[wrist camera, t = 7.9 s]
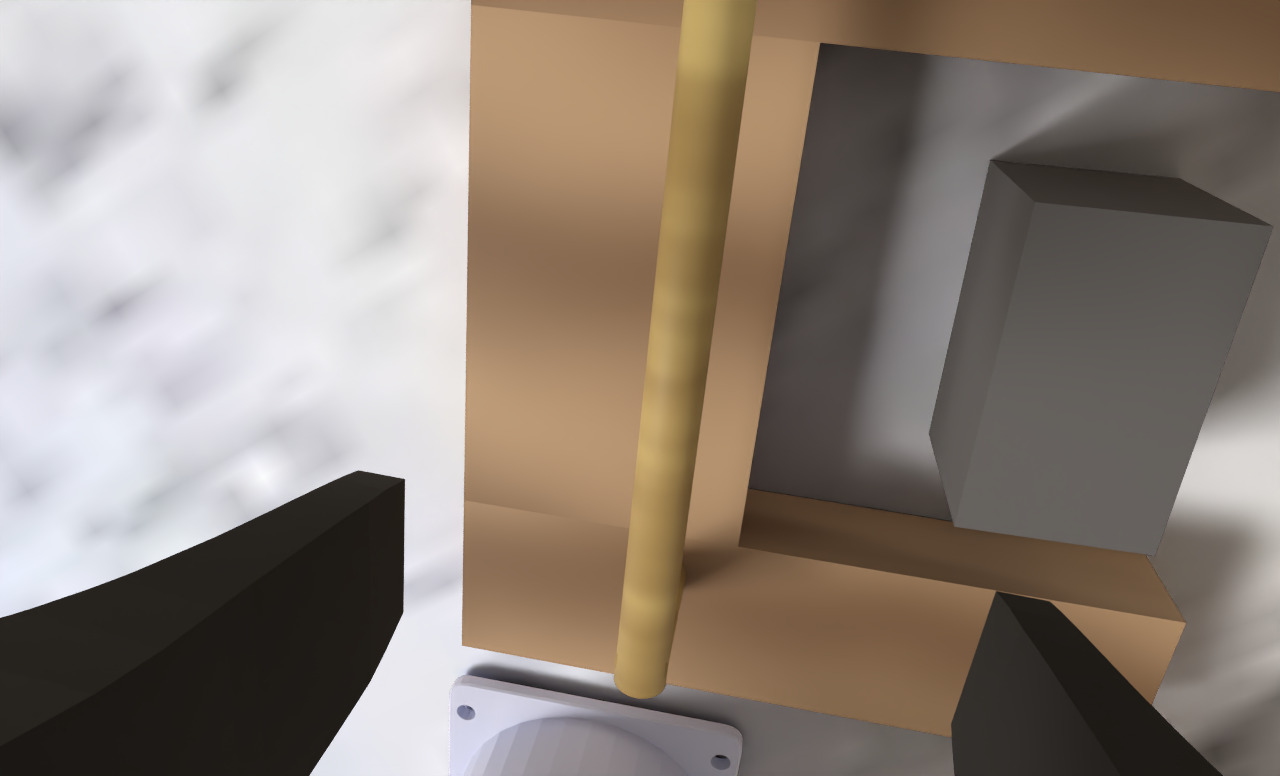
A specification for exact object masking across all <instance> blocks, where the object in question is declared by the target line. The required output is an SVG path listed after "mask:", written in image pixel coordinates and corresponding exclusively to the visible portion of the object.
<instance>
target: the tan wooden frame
mask: <svg viewBox="0 0 1280 776" xmlns="http://www.w3.org/2000/svg"><path fill="white" fill-rule="evenodd" d="M820 43H829V44H838V45H847V46H856V47H866V48H875V49H884V50H893V51H903V52H912V53H921V54H931V55H940V56H949V57H958V58H968V59H977V60H986V61H995V62H1005V63H1014V64H1023V65H1033V66H1042V67H1051V68H1060V69H1070V70H1079V71H1088V72H1097V73H1107V74H1116V75H1125V76H1135V77H1144V78H1153V79H1162V80H1172V81H1181V82H1190V83H1199V84H1209V85H1218V86H1227V87H1237V88H1246V89H1255V90H1264V91H1274V92H1280V0H471V59H470V127H469V196H468V265H467V334H466V403H465V472H464V541H463V610H462V646H468V647H473V648H478V649H484V650H489V651H494V652H500V653H505V654H510V655H516V656H521V657H526V658H532V659H537V660H542V661H547V662H553V663H558V664H563V665H569V666H574V667H579V668H585V669H590V670H595V671H601V672H606V673H611V674H614V682H615V685H616V686H617V688H618V689H619V690H620V691H621V692H622V693H624V694H626V695H628V696H630V697H633V698H639V699H646V698H652V697H655V696H657V695H658V694H660V693H661V692H662V691H663V690H664V688H665V686H666V684H670V685H675V686H681V687H686V688H691V689H696V690H702V691H707V692H712V693H718V694H723V695H728V696H734V697H739V698H744V699H750V700H755V701H760V702H766V703H771V704H776V705H782V706H787V707H792V708H798V709H803V710H808V711H814V712H819V713H824V714H830V715H835V716H840V717H845V718H851V719H856V720H861V721H867V722H872V723H877V724H883V725H888V726H893V727H899V728H904V729H909V730H915V731H920V732H925V733H931V734H936V735H941V736H947V737H952V733H951V722H952V719H953V716H954V714H955V711H956V708H957V705H958V702H959V699H960V696H961V693H962V690H963V687H964V684H965V681H966V678H967V675H968V672H969V669H970V666H971V663H972V660H973V657H974V654H975V651H976V649H977V646H978V643H979V640H980V637H981V634H982V631H983V628H984V625H985V622H986V619H987V616H988V613H989V610H990V607H991V604H992V601H993V598H994V595H995V592H996V591H999V592H1004V593H1009V594H1015V595H1020V596H1025V597H1030V598H1036V599H1041V600H1046V601H1050V602H1051V603H1052V604H1054V605H1055V606H1056V607H1057V608H1058V609H1059V610H1060V611H1061V612H1062V613H1063V614H1064V615H1065V616H1066V617H1067V618H1068V619H1069V620H1070V621H1071V622H1072V623H1073V624H1074V625H1075V626H1076V627H1077V628H1078V629H1079V630H1080V631H1081V632H1082V633H1083V634H1084V635H1085V636H1086V637H1087V638H1088V639H1089V641H1090V642H1091V643H1092V644H1093V645H1094V646H1095V647H1096V648H1097V649H1098V650H1099V651H1100V652H1101V653H1102V654H1103V655H1104V656H1105V657H1106V658H1107V659H1108V660H1109V662H1110V663H1111V664H1112V665H1113V666H1114V667H1115V668H1116V669H1117V670H1118V671H1119V672H1120V673H1121V674H1122V675H1123V676H1124V677H1125V678H1126V679H1127V680H1128V682H1129V683H1130V684H1131V685H1132V686H1133V687H1134V688H1135V689H1136V690H1137V691H1138V692H1139V693H1140V694H1141V695H1142V696H1143V697H1144V698H1145V699H1146V700H1147V701H1148V702H1149V703H1150V704H1151V705H1152V703H1153V701H1154V698H1155V696H1156V693H1157V691H1158V689H1159V686H1160V684H1161V682H1162V679H1163V677H1164V674H1165V672H1166V670H1167V667H1168V665H1169V663H1170V660H1171V658H1172V656H1173V653H1174V651H1175V648H1176V646H1177V644H1178V641H1179V639H1180V637H1181V634H1182V632H1183V629H1184V627H1185V625H1186V622H1185V620H1184V618H1183V617H1182V615H1181V613H1180V612H1179V610H1178V608H1177V607H1176V605H1175V603H1174V602H1173V600H1172V598H1171V597H1170V595H1169V593H1168V592H1167V590H1166V588H1165V587H1164V585H1163V583H1162V582H1161V580H1160V578H1159V577H1158V575H1157V573H1156V572H1155V570H1154V568H1153V567H1152V565H1151V563H1150V561H1149V560H1148V558H1147V556H1146V555H1145V554H1139V553H1132V552H1125V551H1118V550H1111V549H1104V548H1097V547H1090V546H1084V545H1077V544H1070V543H1063V542H1056V541H1049V540H1042V539H1035V538H1029V537H1022V536H1015V535H1008V534H1001V533H994V532H987V531H980V530H973V529H967V528H960V527H954V524H953V522H951V521H945V520H939V519H932V518H926V517H920V516H914V515H908V514H902V513H895V512H889V511H883V510H877V509H871V508H865V507H859V506H852V505H846V504H840V503H834V502H828V501H822V500H815V499H809V498H803V497H797V496H791V495H785V494H779V493H772V492H766V491H760V490H754V489H748V483H749V477H750V471H751V465H752V459H753V452H754V446H755V440H756V434H757V428H758V422H759V416H760V410H761V403H762V397H763V391H764V385H765V379H766V373H767V367H768V360H769V354H770V348H771V342H772V336H773V330H774V324H775V317H776V311H777V305H778V299H779V293H780V287H781V281H782V274H783V268H784V262H785V256H786V250H787V244H788V238H789V231H790V225H791V219H792V213H793V207H794V201H795V195H796V188H797V182H798V176H799V170H800V164H801V158H802V152H803V145H804V139H805V133H806V127H807V121H808V115H809V109H810V102H811V96H812V90H813V84H814V78H815V72H816V66H817V59H818V53H819V47H820Z"/></svg>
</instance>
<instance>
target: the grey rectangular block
mask: <svg viewBox="0 0 1280 776" xmlns="http://www.w3.org/2000/svg"><path fill="white" fill-rule="evenodd" d="M1272 229H1273V226H1271V225H1270V224H1268V223H1266V222H1264V221H1262V220H1260V219H1258V218H1256V217H1254V216H1252V215H1250V214H1248V213H1246V212H1244V211H1242V210H1240V209H1238V208H1236V207H1234V206H1232V205H1230V204H1228V203H1227V202H1225V201H1223V200H1221V199H1219V198H1217V197H1215V196H1213V195H1211V194H1209V193H1207V192H1205V191H1203V190H1201V189H1199V188H1197V187H1195V186H1193V185H1191V184H1189V183H1187V182H1185V181H1184V180H1182V179H1179V178H1169V177H1158V176H1148V175H1138V174H1128V173H1117V172H1107V171H1097V170H1087V169H1076V168H1066V167H1056V166H1045V165H1035V164H1025V163H1015V162H1004V161H994V160H990V164H989V168H988V173H987V177H986V182H985V186H984V190H983V195H982V199H981V204H980V208H979V213H978V217H977V222H976V226H975V231H974V235H973V239H972V244H971V248H970V253H969V257H968V262H967V266H966V271H965V275H964V280H963V284H962V288H961V293H960V297H959V302H958V306H957V311H956V315H955V320H954V324H953V329H952V333H951V338H950V342H949V346H948V351H947V355H946V360H945V364H944V369H943V373H942V378H941V382H940V387H939V391H938V395H937V400H936V404H935V409H934V413H933V418H932V422H931V427H930V431H929V436H930V440H931V443H932V447H933V451H934V454H935V458H936V462H937V465H938V469H939V472H940V476H941V480H942V483H943V487H944V491H945V494H946V498H947V502H948V505H949V509H950V513H951V516H952V520H953V524H954V527H960V528H967V529H973V530H980V531H987V532H994V533H1001V534H1008V535H1015V536H1022V537H1029V538H1035V539H1042V540H1049V541H1056V542H1063V543H1070V544H1077V545H1084V546H1090V547H1097V548H1104V549H1111V550H1118V551H1125V552H1132V553H1139V554H1145V555H1152V556H1155V555H1156V552H1157V549H1158V546H1159V544H1160V541H1161V538H1162V535H1163V533H1164V530H1165V527H1166V524H1167V521H1168V519H1169V516H1170V513H1171V510H1172V507H1173V505H1174V502H1175V499H1176V496H1177V494H1178V491H1179V488H1180V485H1181V482H1182V480H1183V477H1184V474H1185V471H1186V469H1187V466H1188V463H1189V460H1190V457H1191V455H1192V452H1193V449H1194V446H1195V443H1196V441H1197V438H1198V435H1199V432H1200V430H1201V427H1202V424H1203V421H1204V418H1205V416H1206V413H1207V410H1208V407H1209V404H1210V402H1211V399H1212V396H1213V393H1214V391H1215V388H1216V385H1217V382H1218V379H1219V377H1220V374H1221V371H1222V368H1223V366H1224V363H1225V360H1226V357H1227V354H1228V352H1229V349H1230V346H1231V343H1232V340H1233V338H1234V335H1235V332H1236V329H1237V327H1238V324H1239V321H1240V318H1241V315H1242V313H1243V310H1244V307H1245V304H1246V301H1247V299H1248V296H1249V293H1250V290H1251V288H1252V285H1253V282H1254V279H1255V276H1256V274H1257V271H1258V268H1259V265H1260V263H1261V260H1262V257H1263V254H1264V251H1265V249H1266V246H1267V243H1268V240H1269V237H1270V235H1271V232H1272Z"/></svg>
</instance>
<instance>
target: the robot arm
mask: <svg viewBox="0 0 1280 776" xmlns="http://www.w3.org/2000/svg"><path fill="white" fill-rule="evenodd" d="M404 508H405V479H401V478H396V477H391V476H385V475H380V474H375V473H369V472H364V471H359V470H358V471H356V472H353V473H351V474H348V475H346V476H343V477H341V478H339V479H336V480H334V481H332V482H330V483H328V484H325V485H323V486H321V487H319V488H317V489H315V490H313V491H311V492H309V493H307V494H305V495H302V496H300V497H298V498H296V499H294V500H292V501H290V502H288V503H286V504H284V505H282V506H280V507H278V508H276V509H274V510H272V511H269V512H267V513H265V514H263V515H261V516H259V517H257V518H255V519H253V520H251V521H248V522H246V523H244V524H242V525H240V526H238V527H236V528H234V529H232V530H229V531H227V532H225V533H223V534H221V535H219V536H217V537H214V538H212V539H210V540H207V541H205V542H203V543H200V544H198V545H196V546H194V547H191V548H189V549H187V550H184V551H182V552H180V553H177V554H175V555H173V556H170V557H168V558H166V559H163V560H161V561H159V562H156V563H154V564H152V565H149V566H147V567H145V568H142V569H140V570H138V571H135V572H133V573H130V574H128V575H125V576H122V577H120V578H117V579H115V580H112V581H109V582H107V583H104V584H101V585H99V586H96V587H93V588H90V589H88V590H85V591H82V592H79V593H76V594H73V595H70V596H67V597H64V598H61V599H58V600H56V601H53V602H50V603H47V604H44V605H41V606H38V607H35V608H32V609H29V610H25V611H22V612H19V613H16V614H13V615H9V616H6V617H2V618H0V776H309V775H310V774H311V772H312V771H313V769H314V768H315V766H316V765H317V763H318V762H319V760H320V758H321V757H322V755H323V754H324V752H325V751H326V749H327V748H328V746H329V745H330V743H331V742H332V740H333V739H334V737H335V736H336V734H337V733H338V731H339V730H340V728H341V726H342V725H343V723H344V722H345V720H346V719H347V717H348V716H349V714H350V713H351V711H352V709H353V708H354V706H355V705H356V703H357V702H358V700H359V699H360V697H361V695H362V694H363V692H364V691H365V689H366V687H367V686H368V684H369V683H370V681H371V679H372V677H373V675H374V673H375V671H376V669H377V667H378V665H379V663H380V661H381V659H382V657H383V655H384V653H385V651H386V649H387V647H388V644H389V642H390V640H391V638H392V636H393V634H394V631H395V629H396V627H397V625H398V623H399V621H400V618H401V616H402V614H403V596H404ZM464 705H467V706H470V707H472V709H473V710H470V709H468V708H466V707H465V706H464ZM951 733H952V747H953V761H954V773H955V776H1223V775H1222V774H1221V773H1220V772H1219V771H1217V770H1216V769H1215V768H1214V767H1213V766H1212V765H1211V764H1210V763H1209V762H1208V761H1207V760H1206V759H1205V758H1204V757H1203V756H1202V755H1201V754H1200V753H1199V752H1198V751H1197V750H1196V749H1195V748H1194V747H1193V746H1192V745H1190V744H1189V743H1188V742H1187V741H1186V740H1185V739H1184V738H1183V737H1182V736H1181V735H1180V734H1179V733H1178V732H1177V731H1176V730H1175V729H1174V728H1173V727H1172V726H1171V725H1170V724H1169V723H1168V722H1167V721H1166V720H1165V719H1164V718H1163V717H1162V716H1161V715H1160V714H1159V712H1158V711H1157V710H1156V709H1155V708H1154V707H1153V706H1152V705H1151V704H1150V703H1149V702H1148V701H1147V700H1146V699H1145V698H1144V697H1143V696H1142V695H1141V694H1140V693H1139V692H1138V691H1137V690H1136V689H1135V688H1134V687H1133V686H1132V685H1131V684H1130V683H1129V682H1128V680H1127V679H1126V678H1125V677H1124V676H1123V675H1122V674H1121V673H1120V672H1119V671H1118V670H1117V669H1116V668H1115V667H1114V666H1113V665H1112V664H1111V663H1110V662H1109V660H1108V659H1107V658H1106V657H1105V656H1104V655H1103V654H1102V653H1101V652H1100V651H1099V650H1098V649H1097V648H1096V647H1095V646H1094V645H1093V644H1092V643H1091V642H1090V641H1089V639H1088V638H1087V637H1086V636H1085V635H1084V634H1083V633H1082V632H1081V631H1080V630H1079V629H1078V628H1077V627H1076V626H1075V625H1074V624H1073V623H1072V622H1071V621H1070V620H1069V619H1068V618H1067V617H1066V616H1065V615H1064V614H1063V613H1062V612H1061V611H1060V610H1059V609H1058V608H1057V607H1056V606H1055V605H1054V604H1052V603H1051V602H1050V601H1046V600H1041V599H1036V598H1030V597H1025V596H1020V595H1015V594H1009V593H1004V592H999V591H996V592H995V595H994V598H993V601H992V604H991V607H990V610H989V613H988V616H987V619H986V622H985V625H984V628H983V631H982V634H981V637H980V640H979V643H978V646H977V649H976V651H975V654H974V657H973V660H972V663H971V666H970V669H969V672H968V675H967V678H966V681H965V684H964V687H963V690H962V693H961V696H960V699H959V702H958V705H957V708H956V711H955V714H954V716H953V719H952V722H951ZM742 745H743V739H742V735H741V734H740V732H739V731H738V730H737V729H736V728H734V727H732V726H730V725H727V724H722V723H716V722H711V721H706V720H701V719H696V718H690V717H685V716H680V715H675V714H669V713H664V712H659V711H654V710H649V709H643V708H638V707H633V706H628V705H622V704H617V703H612V702H607V701H602V700H596V699H591V698H586V697H581V696H575V695H570V694H565V693H560V692H555V691H549V690H544V689H539V688H534V687H528V686H523V685H518V684H513V683H508V682H502V681H497V680H492V679H487V678H481V677H476V676H471V675H463V676H461V677H458V678H457V679H456V680H455V681H454V683H453V685H452V687H451V689H450V693H449V776H737V775H738V770H739V765H740V759H741V754H742ZM716 755H723V756H726V757H727V758H726V759H720V758H718V757H716Z"/></svg>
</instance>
